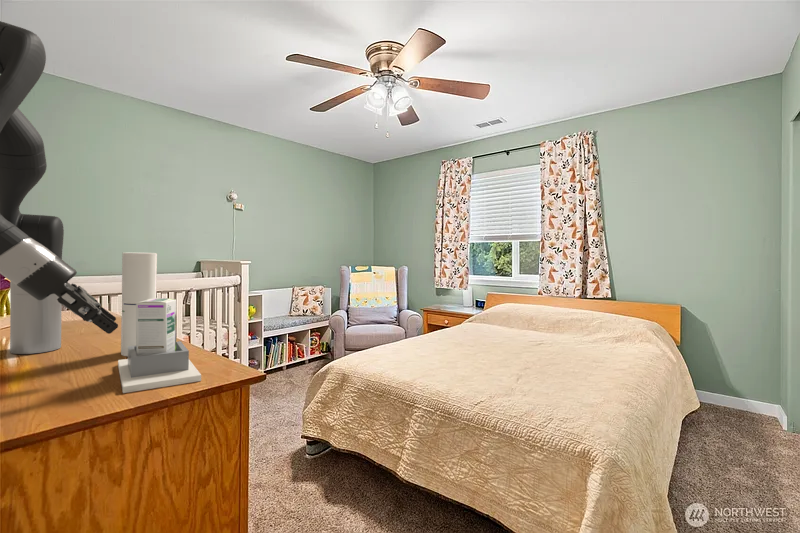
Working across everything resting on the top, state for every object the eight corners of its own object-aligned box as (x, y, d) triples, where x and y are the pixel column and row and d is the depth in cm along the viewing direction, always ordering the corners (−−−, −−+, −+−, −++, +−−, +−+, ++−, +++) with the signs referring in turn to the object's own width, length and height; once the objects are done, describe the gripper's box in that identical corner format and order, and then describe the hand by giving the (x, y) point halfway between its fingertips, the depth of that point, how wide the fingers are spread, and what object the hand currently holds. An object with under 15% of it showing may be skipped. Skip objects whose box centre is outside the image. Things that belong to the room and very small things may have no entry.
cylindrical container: (138, 357, 93) (139, 253, 92) (113, 354, 94) (114, 252, 93) (162, 350, 100) (163, 253, 99) (138, 347, 101) (140, 252, 100)
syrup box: (166, 371, 80) (167, 301, 80) (134, 371, 79) (135, 301, 79) (176, 363, 86) (177, 298, 85) (147, 363, 85) (148, 297, 84)
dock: (118, 365, 87) (118, 342, 86) (183, 357, 95) (184, 336, 94) (122, 393, 71) (123, 365, 71) (201, 380, 79) (201, 355, 79)
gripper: (52, 255, 66) (132, 317, 74) (57, 253, 77) (127, 307, 85) (8, 287, 63) (96, 348, 70) (20, 280, 74) (96, 333, 82)
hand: (113, 326), depth 78 cm, fingers open, 8 cm apart
